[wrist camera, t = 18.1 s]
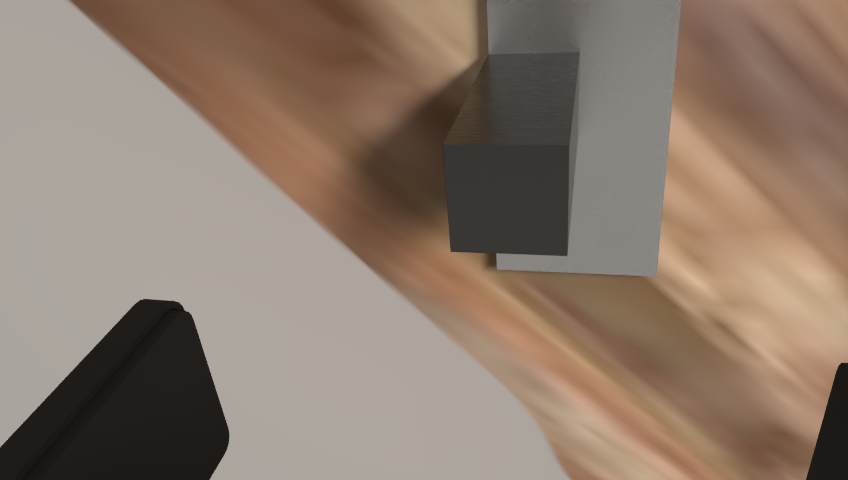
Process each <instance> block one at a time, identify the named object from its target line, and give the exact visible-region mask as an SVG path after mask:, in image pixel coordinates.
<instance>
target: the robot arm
mask: <svg viewBox="0 0 848 480" xmlns="http://www.w3.org/2000/svg"><path fill="white" fill-rule="evenodd" d="M228 443H229V430H228V426H227V423H226V420H225V417H224V414H223V410H222V407H221V404H220V401H219V398H218V395H217V392H216V389H215V385H214V382H213V379H212V376H211V373H210V370H209V367H208V364H207V361H206V357H205V355H204V351H203V348H202V345H201V342H200V339H199V336H198V333H197V329H196V326H195V323H194V320H193V318H192V315H191V314H190V313H189V312H186V311H185V310H184V308H183V306H182V305H181V304H180V303H178V302H175V301H164V300H150V299H143V300H140V301H139V302H137V303H136V304H135V305H134V306H133V307H132V308H131V309H130V310H129V311H128V312H127V313H126V314H125V315H124V316H123V318H122V319H121V320H120V321H119V322H118V323H117V324H116V325H115V326H114V327H113V328H112V329H111V330H110V331H109V332H108V334H107V335H106V336H105V337H104V338H103V339H102V340H101V341H100V342H99V343H98V344H97V345H96V346H95V347H94V348H93V350H92V351H91V352H90V353H89V354H88V355H87V356H86V357H85V358H84V359H83V360H82V361H81V362H80V363H79V364H78V366H76V368H75V369H74V370H73V371H72V372H71V373H70V374H69V375H68V376H67V377H66V378H65V379H64V380H63V381H62V383H60V384H59V386H58V387H57V388H56V389H55V390H54V391H53V392H52V393H51V394H50V395H49V396H48V397H47V398H46V399H45V401H44V402H43V403H42V404H41V405H40V406H39V407H38V408H37V409H36V410H35V411H34V412H33V413H32V414H31V415H30V416H29V417H28V419H27V420H26V421H25V422H24V423H23V424H22V425H21V426H20V427H19V428H18V429H17V430H16V431H15V432H14V433H13V434H12V436H11V437H10V438H9V439H8V440H7V441H6V442H5V443H4V444H3V445H2V446H1V448H0V480H209V479H210V478H211V475H212V474H213V473H214V471H215V469H216V468H217V466H218V464H219V463H220V461H221V459H222V458H223V456H224V454H225V452H226V450H227V447H228ZM806 480H848V363H841V364H840V365H839V366H838V369H837V371H836V375H835V379H834V382H833V386H832V389H831V393H830V396H829V400H828V404H827V407H826V411H825V414H824V418H823V421H822V425H821V429H820V432H819V436H818V439H817V443H816V446H815V450H814V454H813V457H812V461H811V464H810V468H809V471H808V475H807V479H806Z"/></svg>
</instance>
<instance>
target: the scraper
mask: <svg viewBox="0 0 848 480" xmlns="http://www.w3.org/2000/svg"><path fill="white" fill-rule="evenodd" d="M680 8H681V0H487V23H488V49H489V55H488V57H487V59H486V61H485V63H484V65H483V67H482V69H481V71H480V73H479V75H478V76H477V78H476V80H475V82H474V84H473V86H472V88H471V90H470V92H469V94H468V96H467V98H466V100H465V102H464V104H463V106H462V108H461V110H460V112H459V114H458V116H457V118H456V120H455V122H454V124H453V126H452V128H451V129H450V131H449V133H448V135H447V137H446V139H445V141H444V143H443V153H444V167H445V180H446V194H447V207H448V221H449V234H450V247H451V252H473V253H496V257H497V269H499V270H521V271H544V272H566V273H589V274H612V275H634V276H657V265H658V253H659V242H660V231H661V220H662V209H663V198H664V187H665V175H666V164H667V153H668V142H669V131H670V120H671V108H672V97H673V86H674V75H675V64H676V53H677V42H678V30H679V19H680Z"/></svg>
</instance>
